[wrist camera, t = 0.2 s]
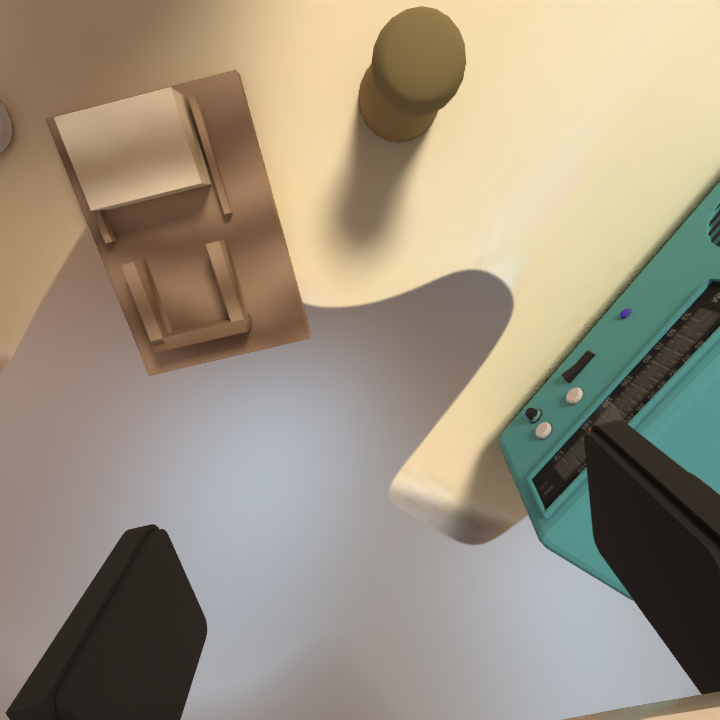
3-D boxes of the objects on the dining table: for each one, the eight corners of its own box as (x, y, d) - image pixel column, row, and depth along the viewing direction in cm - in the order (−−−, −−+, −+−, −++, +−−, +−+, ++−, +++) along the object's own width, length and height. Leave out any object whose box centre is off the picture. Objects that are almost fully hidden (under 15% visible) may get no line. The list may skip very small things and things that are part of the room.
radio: (752, 95, 36) (1017, 29, 22) (836, 179, 38) (1126, 169, 24) (469, 431, 45) (528, 541, 30) (551, 485, 47) (642, 610, 33)
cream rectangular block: (76, 123, 34) (53, 117, 31) (184, 95, 34) (170, 86, 31) (109, 209, 36) (90, 210, 33) (211, 184, 36) (201, 183, 33)
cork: (457, 86, 35) (504, 40, 25) (407, 159, 37) (432, 144, 26) (391, 30, 34) (412, -43, 24) (342, 107, 35) (342, 70, 25)
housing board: (55, 121, 35) (26, 114, 32) (239, 74, 34) (228, 61, 31) (154, 370, 41) (138, 385, 38) (310, 334, 41) (308, 346, 38)
